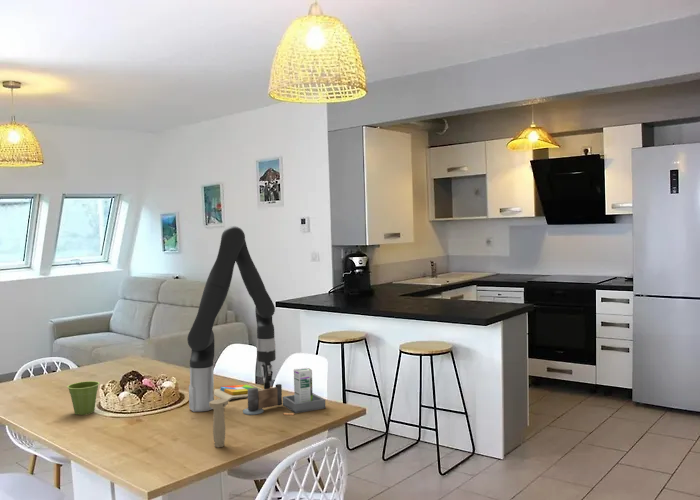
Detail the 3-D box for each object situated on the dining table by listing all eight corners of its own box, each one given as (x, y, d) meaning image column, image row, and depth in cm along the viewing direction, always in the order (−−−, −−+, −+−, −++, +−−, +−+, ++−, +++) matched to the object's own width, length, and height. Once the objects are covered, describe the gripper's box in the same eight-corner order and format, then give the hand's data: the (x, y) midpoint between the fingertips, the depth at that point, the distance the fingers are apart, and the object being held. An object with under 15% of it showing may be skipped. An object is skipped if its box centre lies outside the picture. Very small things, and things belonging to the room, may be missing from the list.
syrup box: (299, 407, 243) (299, 371, 243) (294, 404, 248) (293, 368, 248) (313, 405, 246) (312, 369, 245) (306, 402, 251) (306, 366, 250)
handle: (207, 447, 201) (206, 402, 201) (221, 442, 207) (220, 397, 206) (217, 450, 199) (216, 404, 198) (231, 444, 204) (230, 400, 203)
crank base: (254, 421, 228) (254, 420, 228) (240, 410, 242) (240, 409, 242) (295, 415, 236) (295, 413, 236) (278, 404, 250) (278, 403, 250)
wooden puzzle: (267, 395, 267) (267, 387, 267) (227, 403, 256) (227, 394, 255) (249, 387, 281) (249, 379, 281) (210, 394, 270) (210, 386, 269)
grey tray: (295, 413, 238) (295, 404, 238) (282, 405, 250) (282, 396, 249) (325, 408, 244) (325, 399, 244) (311, 400, 256) (311, 392, 256)
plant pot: (89, 406, 251) (88, 379, 250) (106, 411, 244) (105, 383, 244) (61, 414, 241) (60, 385, 241) (78, 419, 234) (77, 389, 234)
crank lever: (250, 411, 238) (250, 391, 238) (246, 408, 241) (246, 388, 241) (283, 405, 246) (283, 385, 246) (279, 403, 249) (279, 383, 249)
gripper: (254, 346, 254) (255, 388, 255) (259, 352, 242) (260, 396, 242) (271, 345, 257) (272, 386, 257) (278, 351, 244) (279, 394, 245)
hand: (267, 391), depth 250 cm, fingers closed
